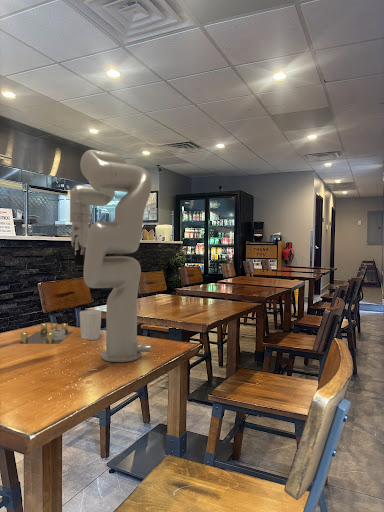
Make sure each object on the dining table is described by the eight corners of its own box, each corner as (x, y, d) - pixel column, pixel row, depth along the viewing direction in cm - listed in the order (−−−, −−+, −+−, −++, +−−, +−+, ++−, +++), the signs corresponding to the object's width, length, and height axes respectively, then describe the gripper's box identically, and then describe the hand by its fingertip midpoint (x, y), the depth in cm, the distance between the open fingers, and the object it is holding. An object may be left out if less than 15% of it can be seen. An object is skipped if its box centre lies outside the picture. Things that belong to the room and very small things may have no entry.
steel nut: (66, 335, 140) (66, 328, 140) (61, 339, 135) (61, 332, 135) (52, 335, 140) (52, 328, 140) (47, 339, 134) (47, 332, 134)
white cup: (98, 341, 135) (98, 314, 135) (76, 340, 135) (76, 313, 135) (103, 336, 143) (103, 310, 143) (83, 335, 143) (83, 309, 143)
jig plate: (73, 333, 147) (73, 323, 146) (59, 345, 129) (59, 333, 128) (37, 333, 146) (37, 322, 146) (18, 345, 128) (18, 333, 128)
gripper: (84, 217, 141) (84, 265, 142) (93, 220, 156) (93, 264, 156) (64, 217, 141) (64, 265, 141) (75, 220, 156) (75, 263, 156)
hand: (79, 264), depth 149 cm, fingers closed
